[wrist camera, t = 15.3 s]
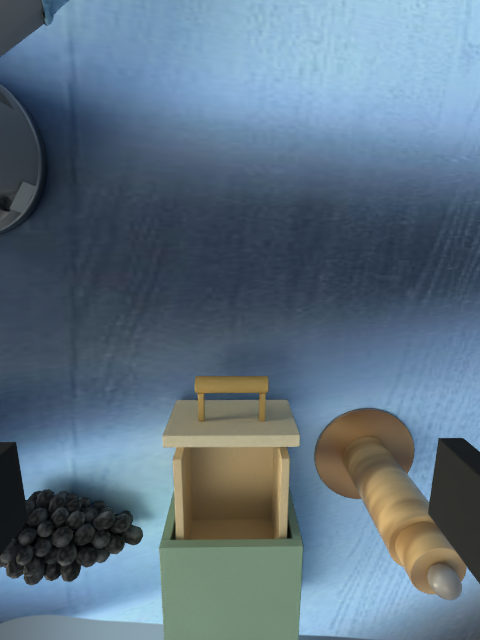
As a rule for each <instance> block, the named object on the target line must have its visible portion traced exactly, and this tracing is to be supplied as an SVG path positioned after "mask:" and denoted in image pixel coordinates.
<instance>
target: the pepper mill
mask: <svg viewBox="0 0 480 640" xmlns="http://www.w3.org/2000/svg"><path fill="white" fill-rule="evenodd" d="M343 463H344V466H345V468H346V470H347V472H348V474H349V476H350V477H351V479H352V481H353V483H354V485H355V487H356V489H357V491H358V493H359V495H360V497H361V499H362V501H363V503H364V505H365V507H366V509H367V511H368V512H369V514H370V516H371V518H372V520H373V522H374V524H375V526H376V528H377V530H378V532H379V534H380V536H381V538H382V540H383V542H384V544H385V546H386V547H387V549H388V551H389V553H390V555H391V557H392V558H393V560H394V561H395V562H396V563H397V564H399V565H401V566H402V567H404V569H405V571H406V573H407V575H408V576H409V578H410V580H411V582H412V584H413V585H414V586H415V587H416V588H417V589H418V590H420V591H421V592H424V593H427V594H437V595H438V596H440V597H441V598H443V599H446V600H454V599H456V598H458V597H459V596H460V594H461V591H462V584H461V581H462V580H463V578H464V576H465V574H466V565H465V563H464V562H463V561H462V559H461V558H460V556H459V555H458V554H457V552H456V551H455V550H454V548H453V547H452V546H451V544H450V543H449V542H448V540H447V539H446V537H445V536H444V535H443V533H442V532H441V531H440V529H439V528H438V527H437V525H436V524H435V523H434V521H433V520H432V518H431V517H430V516H429V514H428V509H429V502H428V500H427V499H426V498H425V496H424V495H423V494H422V493H421V491H420V490H419V489H418V487H417V486H416V485H415V484H414V482H413V481H412V480H411V478H410V477H409V476H408V475H407V473H406V472H405V471H404V469H403V468H402V467H401V466H400V464H399V463H398V462H397V460H396V459H395V458H394V457H393V455H392V454H391V453H390V451H389V450H388V449H387V448H386V446H385V445H384V444H383V443H382V442H381V441H380V440H378V439H376V438H373V437H361V438H358V439H355V440H354V441H352V442H351V443H350V444H349V445H348V446H347V447H346V449H345V451H344V454H343Z"/></svg>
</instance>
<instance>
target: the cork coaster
mask: <svg viewBox="0 0 480 640" xmlns="http://www.w3.org/2000/svg"><path fill="white" fill-rule="evenodd" d="M361 437H373V438H376V439H378V440H380V441H381V442H382V443H383V444H384V445H385V446H386V448H387V449H388V450H389V451H390V453H391V454H392V455H393V457H394V458H395V459H396V460H397V462H398V463H399V464H400V466H401V467H402V468H403V469H404V471H405V472H406V473H407V474H408V472H409V470H410V468H411V465H412V463H413V458H414V443H413V439H412V436H411V434H410V432H409V430H408V429H407V427H406V426H405V425H404V424H403V423H402V422H401V421H400V420H399V419H398V418H397V417H395V416H393V415H392V414H390V413H388V412H385V411H382V410H378V409H368V408H367V409H358V410H353V411H350V412H347V413H345V414H343V415H341V416H339V417H337V418H336V419H335V420H333V421H332V422H331V423H330V424H329V425H328V426H327V427H326V428H325V429H324V430H323V432H322V433H321V435H320V437H319V439H318V441H317V444H316V448H315V454H314V455H315V466H316V469H317V472H318V474H319V476H320V478H321V479H322V481H323V482H324V483H325V485H326V486H327V487H328V488H330V489H331V490H332V491H334V492H335V493H337V494H339V495H342V496H344V497H348V498H353V499H361V497H360V495H359V493H358V491H357V489H356V487H355V485H354V483H353V481H352V479H351V477H350V476H349V474H348V472H347V470H346V468H345V466H344V463H343V454H344V451H345V449H346V447H347V446H348V445H349V444H350V443H351V442H352V441H354V440H355V439H358V438H361Z"/></svg>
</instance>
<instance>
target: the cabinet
mask: <svg viewBox="0 0 480 640" xmlns="http://www.w3.org/2000/svg"><path fill="white" fill-rule="evenodd" d="M159 553H160V571H161V590H162V608H163V626H164V640H298V637H299V618H300V599H301V580H302V562H303V543H302V539H301V535H300V530H299V526H298V522H297V518H296V513H295V509H294V505H293V500H292V496H291V492H290V488H289V495H288V520H287V539H222V540H176V522H175V498H174V492H173V496H172V500H171V504H170V508H169V512H168V516H167V520H166V524H165V527H164V531H163V535H162V539H161V543H160V547H159Z"/></svg>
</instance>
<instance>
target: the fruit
mask: <svg viewBox="0 0 480 640" xmlns="http://www.w3.org/2000/svg"><path fill="white" fill-rule="evenodd" d="M25 503H26V509H27V515H28V520H27V521H26V523H25V524H24V525H23V527H22V528H21V529H20V530H19V532H18V533H17V534H16V536H15V537H14V538H13V539H14V540H12V541H11V542H10V544H9V545H8V546H7V548H6V549H5V550H4V552H3V553H2V554H1V556H0V567H4V568H6V573H7V576H9V577H11V578H12V579H13V578H18V577H20V576H21V575H23V574H24V580H25V582H26V584H29V585H34V584H37V583H38V582H39V581H40V580H41V579H42V578H43V576H45V578H46V580H50V581H53V580H55V579H57V578H58V577H59V576H60V575H62V578H63V580H64V581H67V582H71V581H73V580H74V579H76V578H77V577H78V575H79V573H80V570H81V565H82V566H84V567H90V566H92V565H93V564H94V563H95V562H96V561H97V562H98V563H102V562H105V561H106V560H107V559H108V557H109V555H110V553H111V554H118V553H119V552H120V551H121V550H123V548H124V544H125V543H128V544H131V545H136V544H138V543H139V542H140V541H141V539H142V537H143V532H142V530H141V528H140V527H137V526H133V525H131V524H132V522H133V516H132V514H131V513H130V512H129V511H124V512H122V513H121V514H114V510H113V509H112V508H110V507H106V504H105V502H103V501H96V502H95V503H94V505H93V506H92V507H90V500H89V499H88V498H84V497H82V498H81V499H80V500H78V497H77V496H76V495H75V494H73V493H71V494H69V493H67V492H66V491H64V492H59V493H58V494H56V495H55V496H54V492H52V491H51V490H43V491H37V492H34V493H33V494H32V495H31V496H30V498H29V499H28V500H25ZM73 531H74V532H73ZM33 547H34V548H33Z"/></svg>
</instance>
